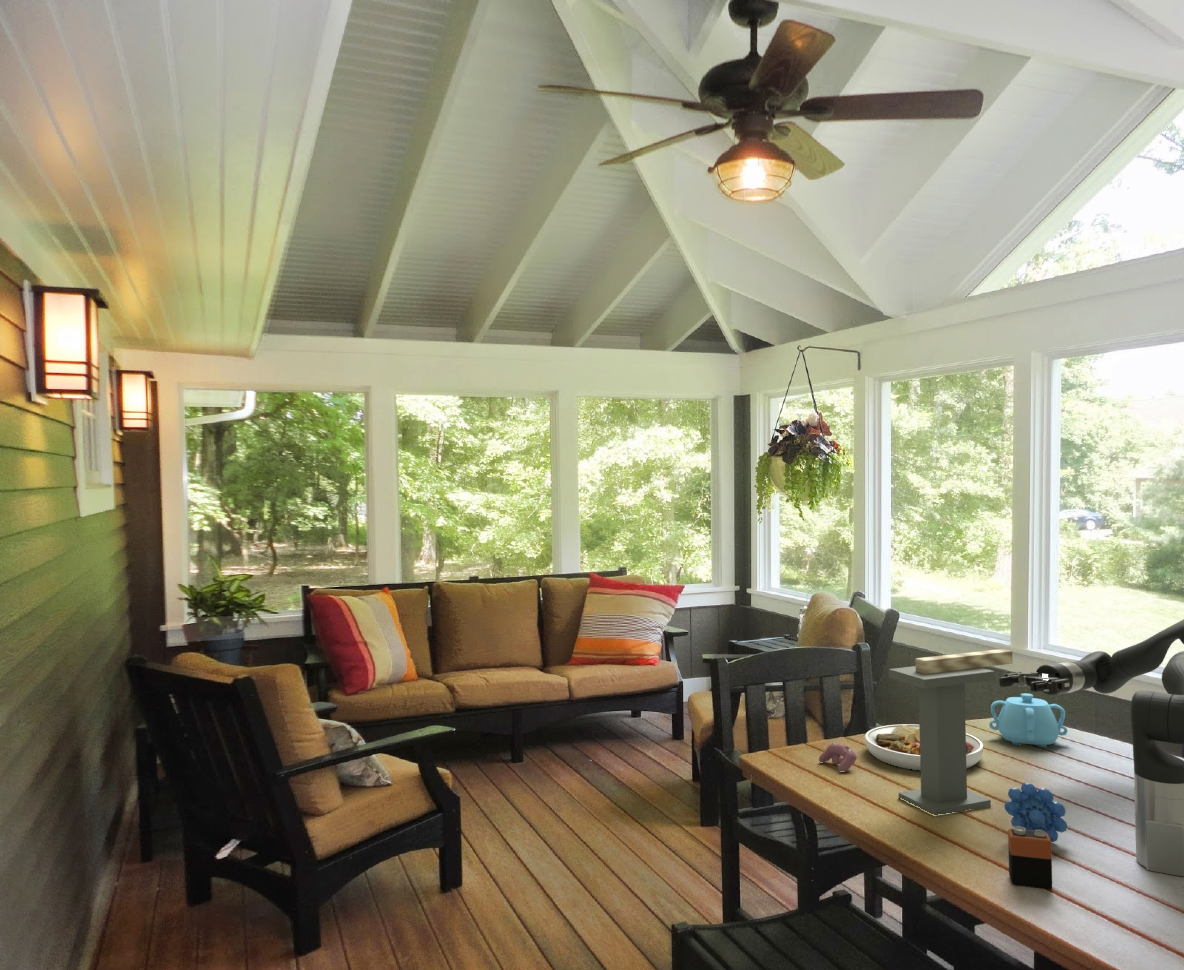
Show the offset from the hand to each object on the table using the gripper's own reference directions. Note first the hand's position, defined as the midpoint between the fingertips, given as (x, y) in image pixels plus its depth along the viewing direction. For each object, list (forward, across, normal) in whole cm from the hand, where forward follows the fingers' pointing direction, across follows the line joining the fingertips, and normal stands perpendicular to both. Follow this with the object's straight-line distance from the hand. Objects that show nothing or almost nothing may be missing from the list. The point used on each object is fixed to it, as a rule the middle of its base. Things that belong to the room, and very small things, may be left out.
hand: (1015, 684), depth 207 cm
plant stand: (+22, +4, -26) cm, 34 cm away
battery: (+40, -32, -29) cm, 58 cm away
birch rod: (+15, +2, +5) cm, 16 cm away
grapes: (+23, -21, -28) cm, 41 cm away
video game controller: (+25, +36, -24) cm, 50 cm away
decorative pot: (-36, +26, -23) cm, 50 cm away
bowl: (0, +31, -24) cm, 39 cm away
